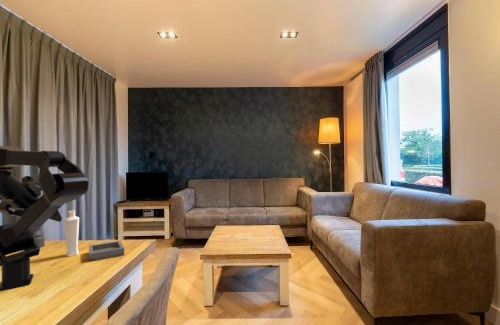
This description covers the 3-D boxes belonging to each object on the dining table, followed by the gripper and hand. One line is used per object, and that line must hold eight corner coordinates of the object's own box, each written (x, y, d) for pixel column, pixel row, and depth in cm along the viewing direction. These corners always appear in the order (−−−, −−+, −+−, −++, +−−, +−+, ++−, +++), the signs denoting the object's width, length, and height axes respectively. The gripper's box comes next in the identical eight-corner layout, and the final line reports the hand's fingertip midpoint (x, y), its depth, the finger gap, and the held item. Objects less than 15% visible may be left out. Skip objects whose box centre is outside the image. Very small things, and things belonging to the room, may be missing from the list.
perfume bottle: (66, 253, 94) (65, 210, 94) (80, 251, 96) (80, 209, 96) (62, 257, 90) (61, 212, 90) (77, 255, 92) (76, 211, 91)
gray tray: (124, 255, 92) (124, 247, 92) (90, 261, 86) (90, 253, 86) (120, 247, 100) (120, 240, 100) (88, 252, 95) (88, 245, 95)
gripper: (55, 167, 78) (88, 199, 89) (7, 167, 83) (44, 198, 93) (26, 198, 70) (66, 230, 81) (-24, 196, 75) (20, 226, 86)
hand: (49, 219), depth 86 cm, fingers open, 9 cm apart
